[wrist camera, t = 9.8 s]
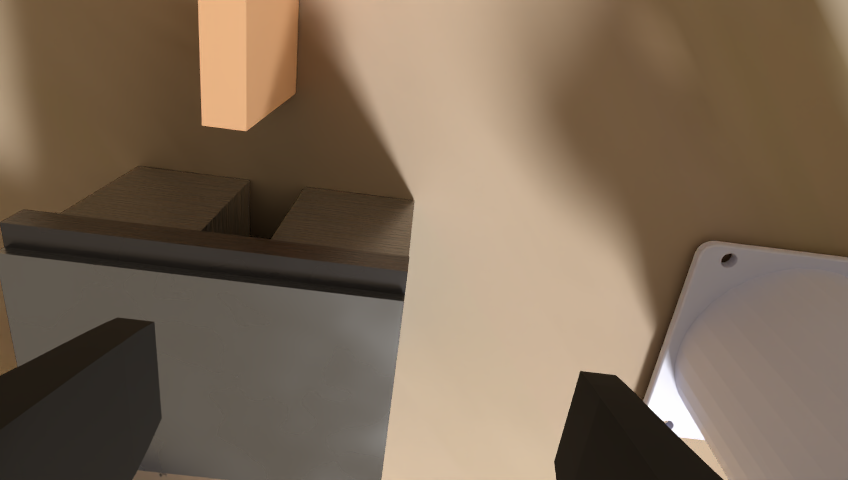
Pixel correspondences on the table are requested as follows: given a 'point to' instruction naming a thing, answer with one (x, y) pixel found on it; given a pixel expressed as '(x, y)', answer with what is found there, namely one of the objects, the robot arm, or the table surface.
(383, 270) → the dispenser
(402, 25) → the table surface
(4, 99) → the table surface
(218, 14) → the long wooden plank
